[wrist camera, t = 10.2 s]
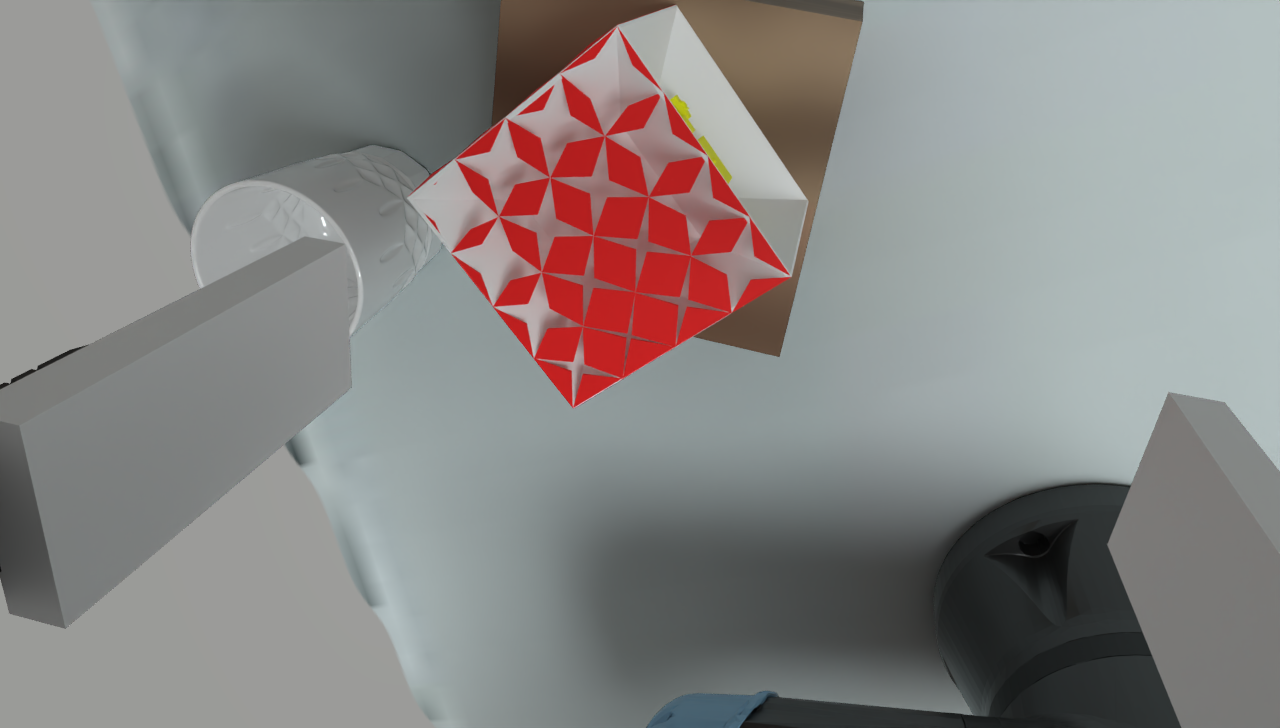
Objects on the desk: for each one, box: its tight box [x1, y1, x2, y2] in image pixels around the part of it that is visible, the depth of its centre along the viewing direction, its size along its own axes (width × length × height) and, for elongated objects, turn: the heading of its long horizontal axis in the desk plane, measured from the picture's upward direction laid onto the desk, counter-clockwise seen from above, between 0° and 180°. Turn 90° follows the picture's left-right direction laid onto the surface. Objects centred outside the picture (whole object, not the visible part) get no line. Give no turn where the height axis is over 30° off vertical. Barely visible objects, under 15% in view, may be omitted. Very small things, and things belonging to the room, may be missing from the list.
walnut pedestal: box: [492, 0, 864, 357], centre depth 36 cm, size 12×12×10 cm
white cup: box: [190, 145, 442, 338], centre depth 42 cm, size 8×8×10 cm
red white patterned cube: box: [407, 4, 809, 409], centre depth 29 cm, size 8×8×8 cm
